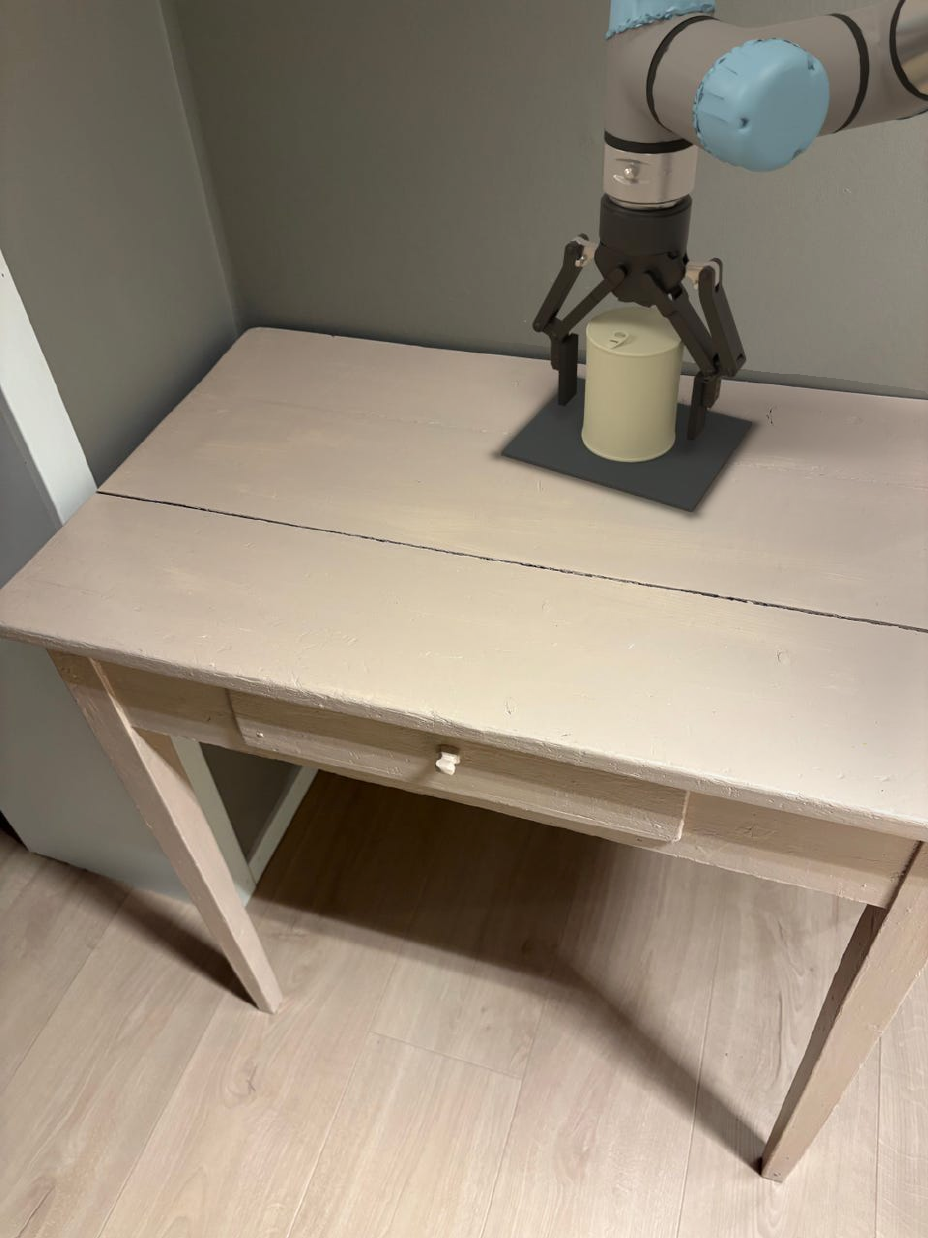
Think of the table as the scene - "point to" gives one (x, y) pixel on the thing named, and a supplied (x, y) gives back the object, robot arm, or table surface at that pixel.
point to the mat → (660, 479)
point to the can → (631, 384)
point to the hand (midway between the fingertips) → (629, 415)
